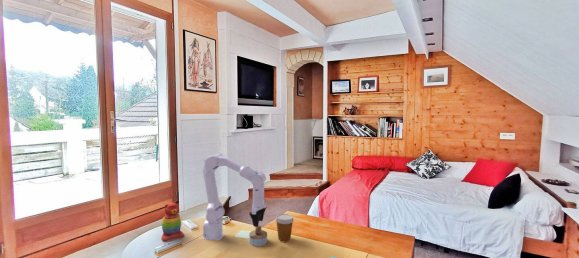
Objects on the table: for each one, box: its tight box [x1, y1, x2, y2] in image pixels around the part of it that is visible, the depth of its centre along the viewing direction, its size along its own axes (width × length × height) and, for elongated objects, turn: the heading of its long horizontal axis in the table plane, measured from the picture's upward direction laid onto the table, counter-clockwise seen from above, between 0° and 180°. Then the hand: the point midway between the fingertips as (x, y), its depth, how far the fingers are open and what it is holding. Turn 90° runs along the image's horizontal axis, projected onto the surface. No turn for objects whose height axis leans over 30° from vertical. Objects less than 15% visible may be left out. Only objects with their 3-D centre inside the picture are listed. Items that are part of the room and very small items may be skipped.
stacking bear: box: [161, 202, 185, 243], centre depth 144 cm, size 11×10×18 cm
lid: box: [249, 225, 268, 239], centre depth 138 cm, size 9×9×4 cm
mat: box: [234, 229, 253, 239], centre depth 147 cm, size 9×9×1 cm
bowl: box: [249, 236, 268, 247], centre depth 138 cm, size 9×9×4 cm
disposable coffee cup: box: [275, 213, 295, 243], centre depth 142 cm, size 10×10×12 cm
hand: (258, 223), depth 138 cm, fingers open, 7 cm apart
